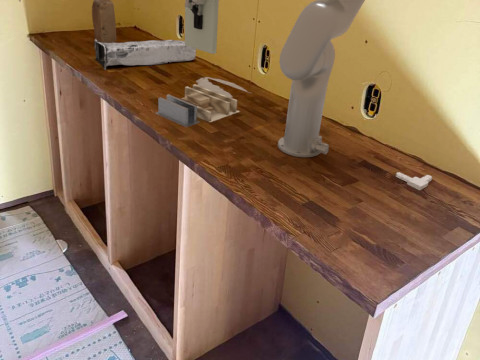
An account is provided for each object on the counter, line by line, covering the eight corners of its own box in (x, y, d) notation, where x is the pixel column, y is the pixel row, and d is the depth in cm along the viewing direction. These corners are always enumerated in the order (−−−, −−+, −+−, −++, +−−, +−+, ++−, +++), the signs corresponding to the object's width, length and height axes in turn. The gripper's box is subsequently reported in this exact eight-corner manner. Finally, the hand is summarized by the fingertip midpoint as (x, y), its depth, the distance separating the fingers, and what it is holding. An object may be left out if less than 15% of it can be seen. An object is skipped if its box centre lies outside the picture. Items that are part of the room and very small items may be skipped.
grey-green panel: (216, 53, 141) (218, -1, 133) (212, 53, 139) (214, -1, 132) (188, 44, 147) (189, -8, 140) (184, 44, 146) (185, -8, 139)
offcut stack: (212, 112, 152) (213, 98, 149) (201, 116, 148) (202, 102, 146) (190, 103, 157) (190, 90, 155) (179, 106, 154) (179, 93, 151)
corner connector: (408, 170, 131) (409, 165, 130) (435, 183, 126) (436, 177, 125) (392, 179, 126) (393, 173, 125) (419, 192, 121) (421, 186, 120)
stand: (200, 126, 145) (201, 106, 142) (186, 131, 141) (186, 111, 138) (169, 112, 153) (169, 93, 149) (154, 117, 148) (154, 97, 145)
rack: (239, 115, 155) (240, 99, 152) (209, 126, 145) (210, 109, 143) (196, 98, 166) (196, 83, 163) (165, 107, 156) (165, 91, 153)
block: (118, 48, 214) (115, 1, 204) (102, 50, 210) (98, 2, 200) (107, 42, 221) (105, -4, 211) (92, 44, 217) (88, -3, 207)
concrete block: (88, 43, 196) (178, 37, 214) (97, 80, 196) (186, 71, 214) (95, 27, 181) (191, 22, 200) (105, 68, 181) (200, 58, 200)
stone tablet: (226, 112, 158) (227, 105, 157) (186, 84, 179) (186, 77, 178) (267, 106, 166) (268, 99, 165) (224, 80, 187) (225, 74, 186)
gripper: (191, -39, 124) (189, 34, 133) (232, -40, 134) (228, 27, 143) (172, -42, 128) (171, 28, 137) (213, -43, 139) (210, 23, 148)
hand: (200, 27), depth 140 cm, fingers closed on grey-green panel, 1 cm apart
